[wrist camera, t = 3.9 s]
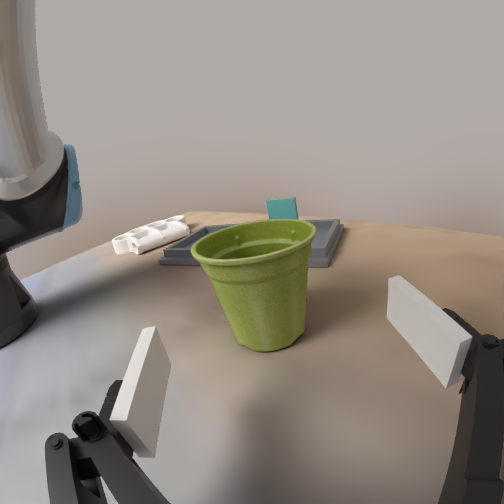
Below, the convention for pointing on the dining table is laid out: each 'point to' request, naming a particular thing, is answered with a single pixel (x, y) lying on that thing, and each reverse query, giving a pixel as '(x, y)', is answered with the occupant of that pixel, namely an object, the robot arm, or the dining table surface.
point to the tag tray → (277, 209)
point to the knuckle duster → (151, 235)
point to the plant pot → (260, 278)
